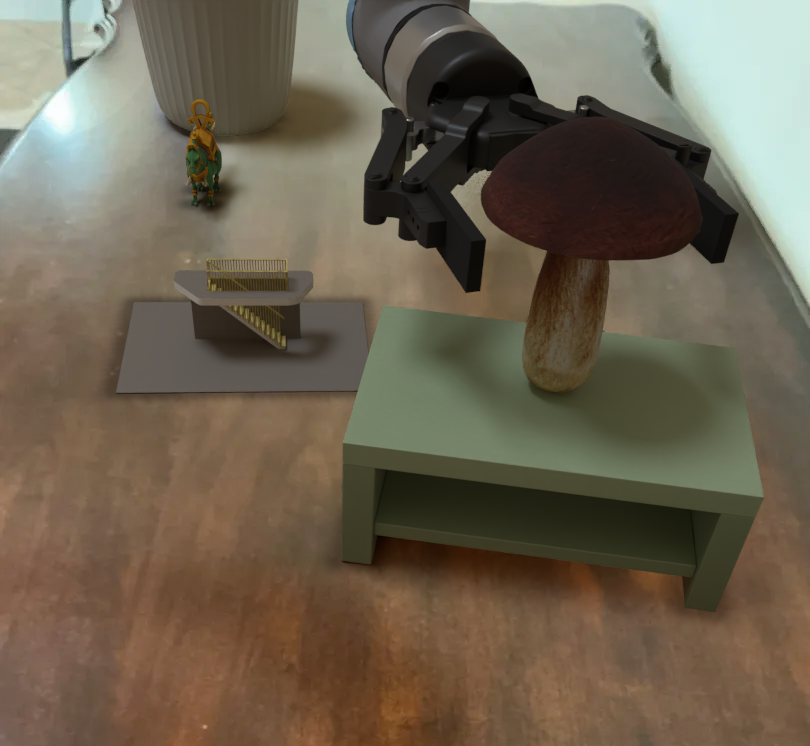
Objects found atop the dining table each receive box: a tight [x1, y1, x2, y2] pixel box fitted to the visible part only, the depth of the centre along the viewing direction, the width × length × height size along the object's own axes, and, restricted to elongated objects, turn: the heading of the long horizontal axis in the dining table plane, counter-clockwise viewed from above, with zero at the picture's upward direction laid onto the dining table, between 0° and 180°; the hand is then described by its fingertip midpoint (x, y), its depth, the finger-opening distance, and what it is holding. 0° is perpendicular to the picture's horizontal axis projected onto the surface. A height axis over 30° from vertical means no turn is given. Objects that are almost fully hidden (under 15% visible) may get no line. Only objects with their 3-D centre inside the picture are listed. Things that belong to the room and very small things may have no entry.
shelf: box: [340, 304, 765, 613], centre depth 59 cm, size 22×14×9 cm, turn 82°
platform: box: [115, 258, 369, 394], centre depth 71 cm, size 12×18×7 cm, turn 95°
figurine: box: [184, 99, 223, 207], centre depth 88 cm, size 3×12×8 cm, turn 179°
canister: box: [131, 0, 299, 137], centre depth 96 cm, size 18×18×21 cm
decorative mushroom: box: [480, 117, 702, 393], centre depth 51 cm, size 11×11×15 cm
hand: (605, 253), depth 48 cm, fingers open, 13 cm apart
